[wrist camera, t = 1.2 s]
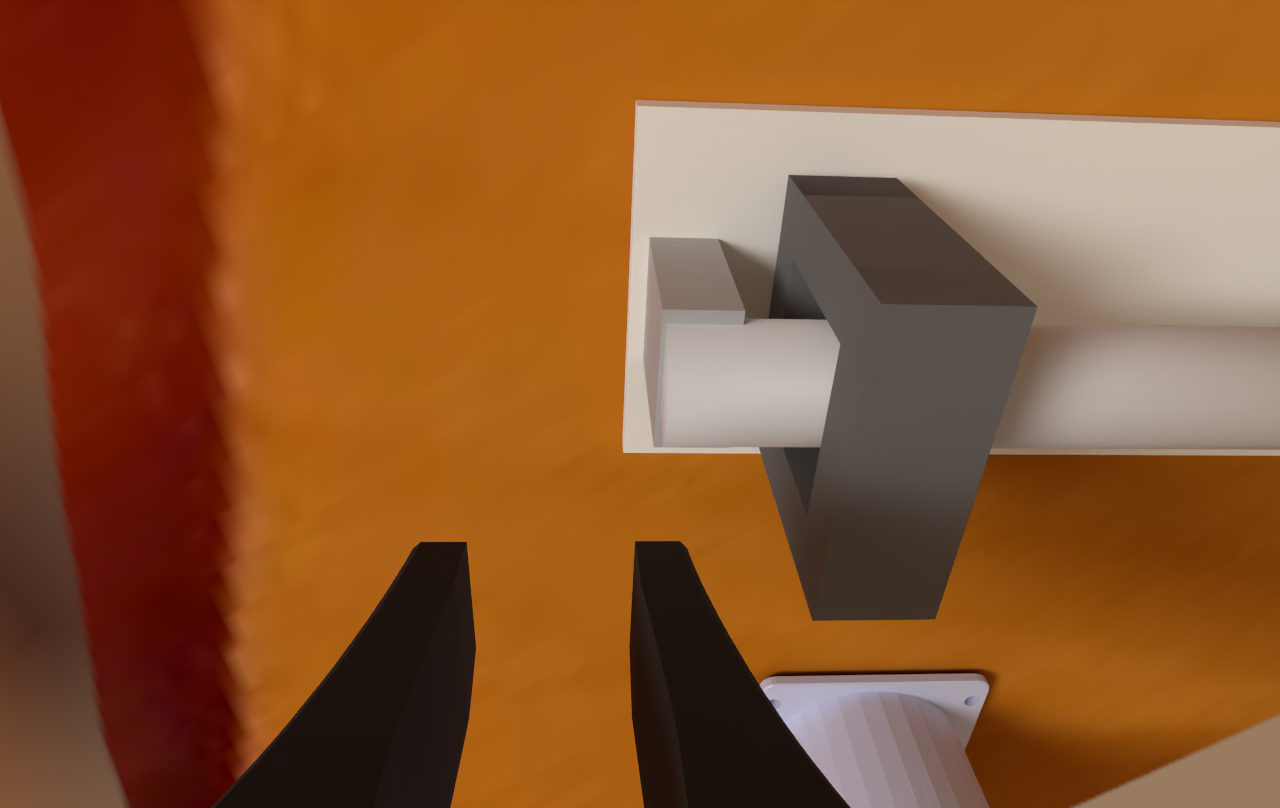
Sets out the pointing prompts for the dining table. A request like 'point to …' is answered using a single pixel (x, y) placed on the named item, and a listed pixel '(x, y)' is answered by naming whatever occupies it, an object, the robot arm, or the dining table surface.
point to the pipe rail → (1004, 235)
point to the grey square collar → (889, 393)
